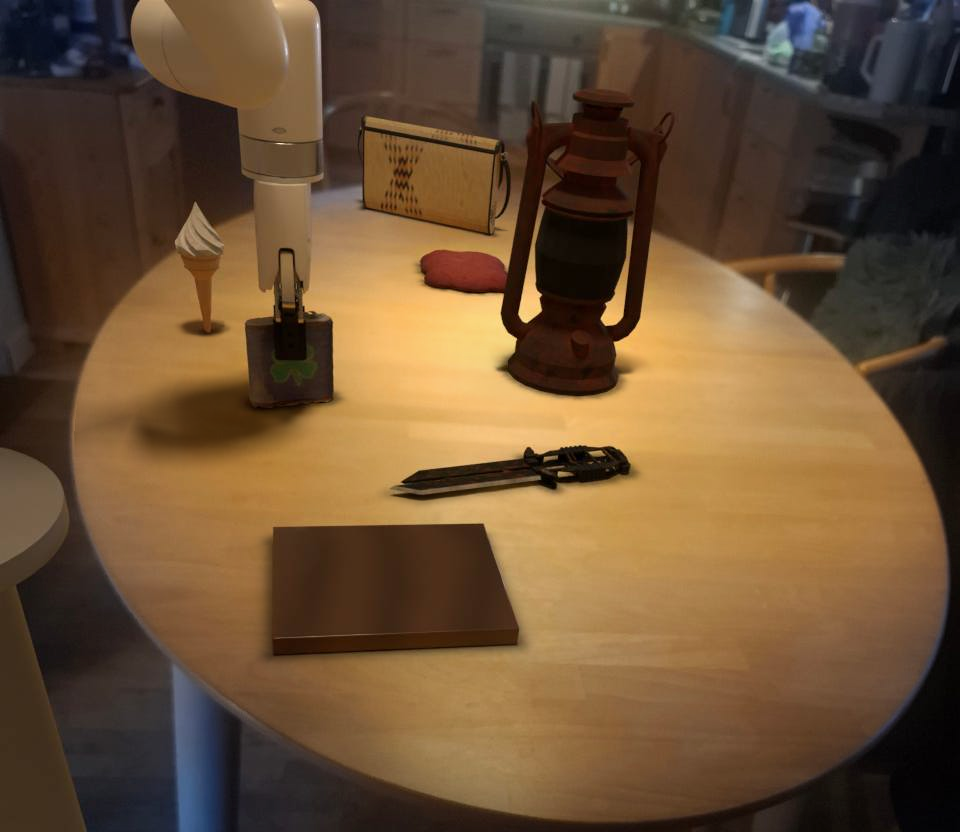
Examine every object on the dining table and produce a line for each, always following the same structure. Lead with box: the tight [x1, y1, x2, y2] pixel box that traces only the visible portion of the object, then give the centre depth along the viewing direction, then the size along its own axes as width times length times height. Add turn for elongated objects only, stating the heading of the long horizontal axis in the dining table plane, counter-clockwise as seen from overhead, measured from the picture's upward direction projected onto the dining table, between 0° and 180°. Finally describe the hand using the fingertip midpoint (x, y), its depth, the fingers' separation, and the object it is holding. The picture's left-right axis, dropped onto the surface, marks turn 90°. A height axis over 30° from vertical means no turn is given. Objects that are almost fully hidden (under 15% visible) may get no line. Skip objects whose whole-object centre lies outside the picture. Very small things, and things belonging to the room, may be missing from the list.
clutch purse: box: [357, 115, 512, 236], centre depth 158 cm, size 30×7×15 cm, turn 66°
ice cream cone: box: [174, 201, 225, 334], centre depth 106 cm, size 6×6×15 cm
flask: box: [244, 310, 335, 409], centre depth 94 cm, size 9×3×11 cm, turn 115°
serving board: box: [272, 522, 520, 655], centre depth 71 cm, size 18×15×2 cm
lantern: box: [500, 87, 676, 397], centre depth 101 cm, size 17×14×30 cm
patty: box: [419, 249, 508, 293], centre depth 137 cm, size 18×14×2 cm
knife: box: [389, 444, 631, 496], centre depth 88 cm, size 25×6×1 cm, turn 108°
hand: (290, 349), depth 94 cm, fingers closed on flask, 3 cm apart
